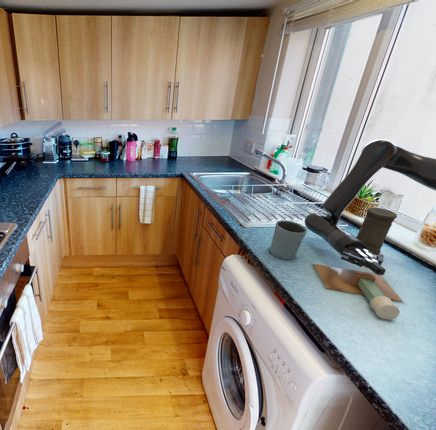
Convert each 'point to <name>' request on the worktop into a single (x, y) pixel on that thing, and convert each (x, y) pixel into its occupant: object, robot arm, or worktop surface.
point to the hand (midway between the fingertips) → (382, 272)
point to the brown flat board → (342, 281)
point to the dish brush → (375, 296)
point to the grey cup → (287, 239)
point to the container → (375, 228)
